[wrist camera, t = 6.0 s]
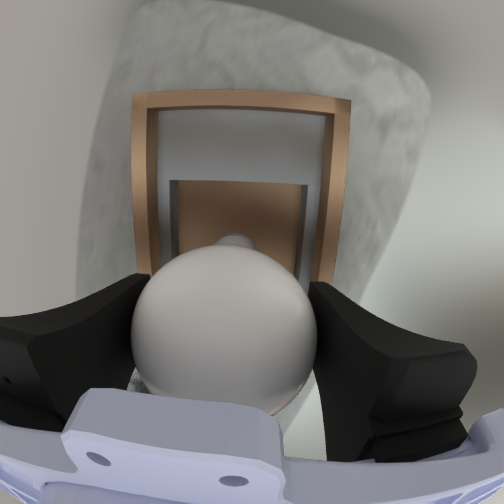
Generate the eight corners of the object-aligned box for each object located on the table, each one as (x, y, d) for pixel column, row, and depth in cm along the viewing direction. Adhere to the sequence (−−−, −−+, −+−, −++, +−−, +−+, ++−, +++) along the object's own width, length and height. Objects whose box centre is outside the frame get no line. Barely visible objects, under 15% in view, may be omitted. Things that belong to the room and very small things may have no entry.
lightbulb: (164, 213, 17) (60, 333, 6) (275, 183, 16) (320, 280, 6) (199, 308, 19) (163, 464, 9) (299, 285, 18) (342, 443, 8)
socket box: (308, 308, 22) (319, 346, 18) (164, 302, 22) (147, 338, 18) (328, 108, 17) (351, 100, 13) (158, 102, 17) (132, 94, 13)
